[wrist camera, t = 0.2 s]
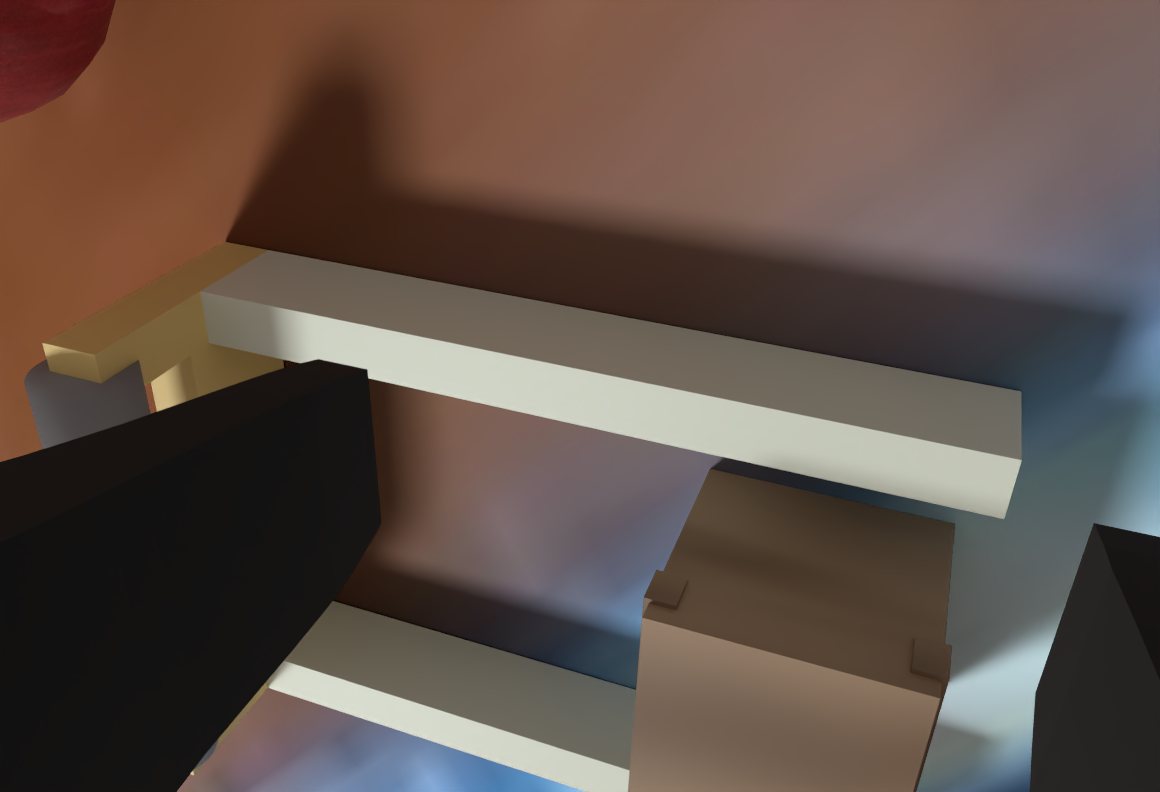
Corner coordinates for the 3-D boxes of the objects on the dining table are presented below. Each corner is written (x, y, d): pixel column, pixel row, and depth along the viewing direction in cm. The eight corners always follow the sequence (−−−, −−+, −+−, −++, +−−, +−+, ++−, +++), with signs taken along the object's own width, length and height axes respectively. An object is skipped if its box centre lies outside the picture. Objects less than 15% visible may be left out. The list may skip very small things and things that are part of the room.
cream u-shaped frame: (902, 805, 25) (872, 1064, 20) (269, 613, 30) (115, 780, 24) (1021, 391, 19) (1023, 609, 14) (208, 239, 24) (-10, 357, 19)
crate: (910, 703, 23) (888, 896, 19) (686, 642, 25) (621, 808, 21) (961, 518, 21) (947, 695, 16) (706, 461, 22) (637, 611, 18)
